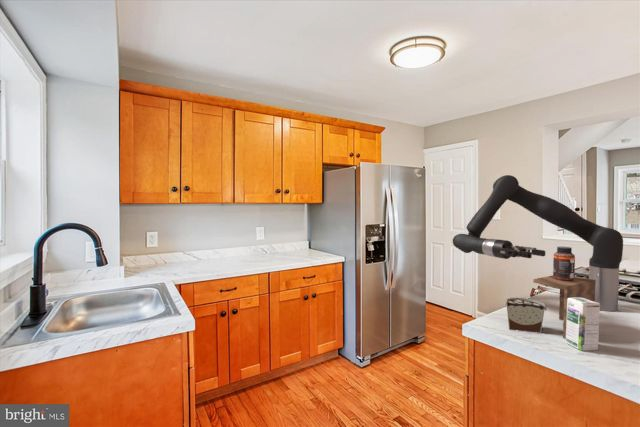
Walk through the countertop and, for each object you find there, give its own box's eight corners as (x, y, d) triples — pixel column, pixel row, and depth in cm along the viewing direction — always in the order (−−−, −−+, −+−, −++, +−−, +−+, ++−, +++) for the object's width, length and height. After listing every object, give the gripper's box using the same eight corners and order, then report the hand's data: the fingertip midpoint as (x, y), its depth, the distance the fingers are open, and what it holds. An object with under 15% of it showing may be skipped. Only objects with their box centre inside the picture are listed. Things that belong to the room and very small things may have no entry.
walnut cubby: (560, 318, 119) (561, 273, 118) (594, 328, 110) (595, 279, 109) (532, 327, 112) (533, 279, 111) (565, 338, 102) (567, 286, 102)
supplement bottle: (578, 281, 107) (579, 248, 106) (558, 281, 108) (559, 248, 108) (568, 277, 113) (569, 246, 112) (549, 276, 114) (550, 245, 113)
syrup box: (564, 342, 100) (565, 297, 99) (581, 341, 100) (583, 296, 99) (581, 351, 94) (582, 303, 93) (599, 350, 94) (600, 302, 94)
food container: (540, 326, 112) (540, 299, 112) (546, 333, 106) (546, 304, 106) (500, 322, 116) (501, 295, 116) (504, 329, 110) (505, 301, 110)
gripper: (486, 240, 129) (526, 245, 114) (508, 238, 135) (549, 243, 121) (485, 258, 129) (526, 266, 115) (507, 255, 136) (549, 262, 121)
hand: (538, 254), depth 118 cm, fingers open, 8 cm apart
